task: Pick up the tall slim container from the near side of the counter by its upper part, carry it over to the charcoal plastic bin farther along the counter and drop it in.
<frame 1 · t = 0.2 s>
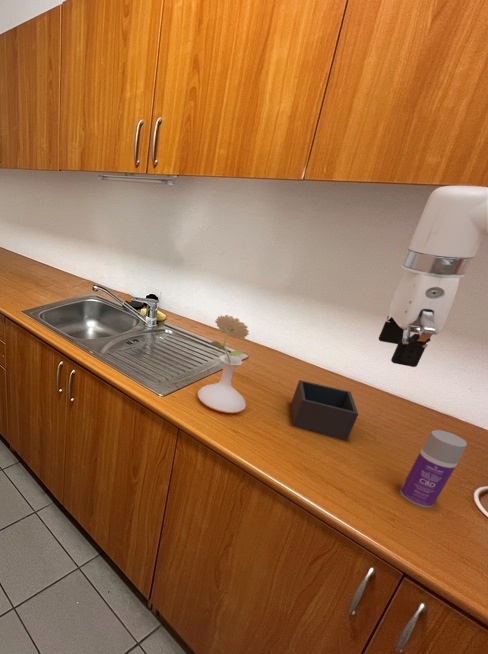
hand: (395, 352, 73), 30 cm above the worktop, tool pointing down, fingers open, 9 cm apart
flower in vase: (217, 402, 108), on the worktop
container: (415, 498, 78), on the worktop
bin: (317, 421, 100), on the worktop
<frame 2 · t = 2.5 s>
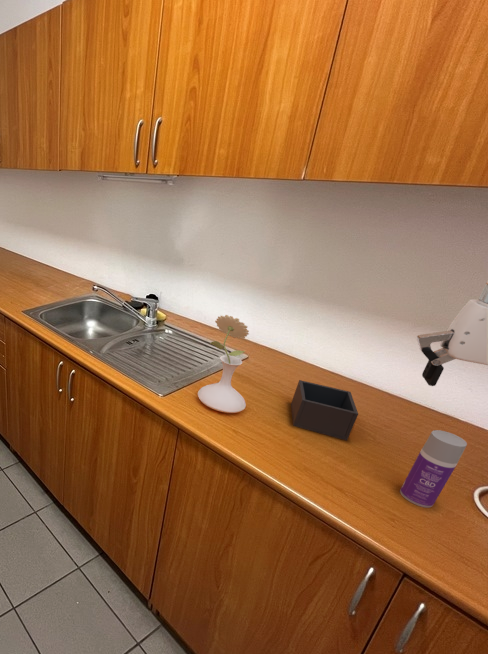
hand: (467, 390, 69), 25 cm above the worktop, tool pointing down, fingers open, 9 cm apart
nothing on the worktop moved.
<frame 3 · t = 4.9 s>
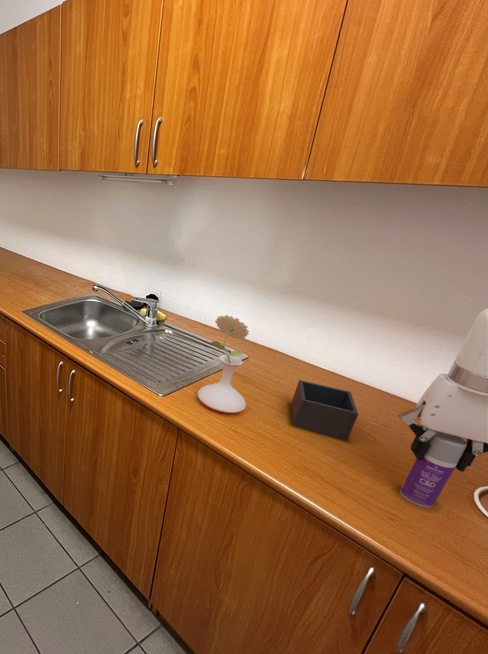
hand: (437, 459, 74), 10 cm above the worktop, tool pointing down, fingers closed on container, 4 cm apart
container: (415, 498, 78), on the worktop, touching gripper
everything else where it was.
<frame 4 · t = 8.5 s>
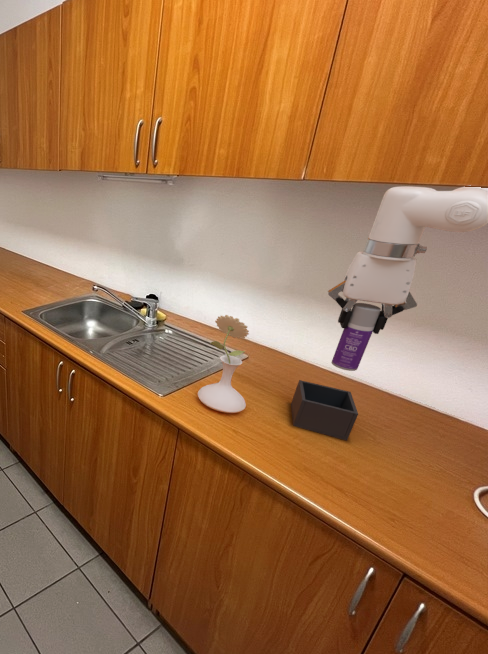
hand: (358, 328, 88), 27 cm above the worktop, tool pointing down, fingers closed on container, 4 cm apart
container: (343, 366, 92), point 17 cm above the worktop, touching gripper
everything else where it was.
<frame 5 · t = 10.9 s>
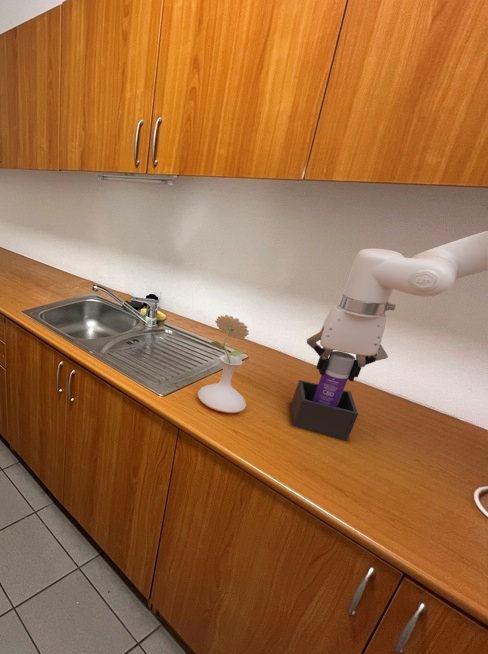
hand: (335, 374, 94), 14 cm above the worktop, tool pointing down, fingers closed on container, 4 cm apart
container: (322, 408, 98), point 4 cm above the worktop, touching gripper
everything else where it was.
when the fingers open (11 cm above the worktop, at t = 12.4 s): container stays where it is, resting on bin.
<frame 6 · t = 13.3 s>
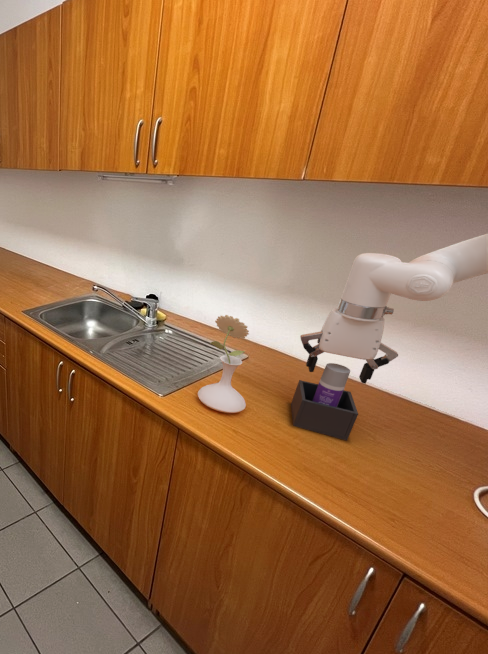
hand: (335, 375, 94), 14 cm above the worktop, tool pointing down, fingers open, 9 cm apart
container: (318, 419, 100), point 1 cm above the worktop, touching bin
everything else where it was.
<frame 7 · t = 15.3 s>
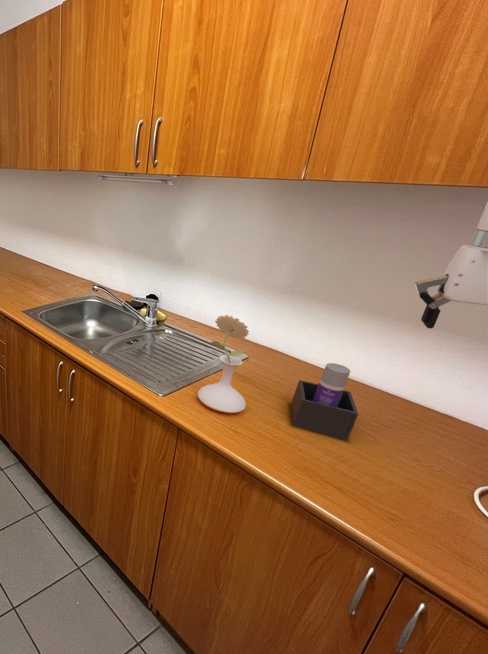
hand: (463, 330, 75), 32 cm above the worktop, tool pointing down, fingers open, 9 cm apart
nothing on the worktop moved.
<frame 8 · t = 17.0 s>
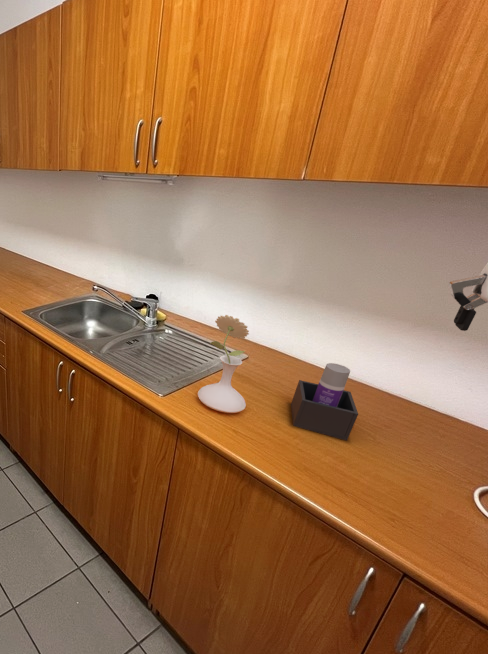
nothing on the worktop moved.
at the end: container inside the target area in the bin (0.1 cm from its centre), point 0.6 cm above the bin's base; the gripper is holding nothing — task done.
